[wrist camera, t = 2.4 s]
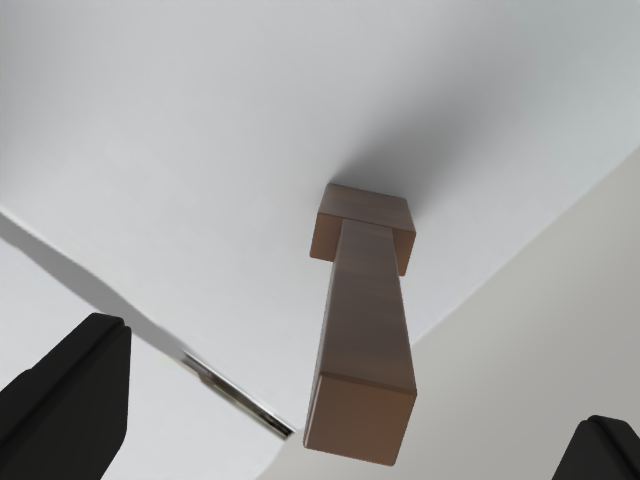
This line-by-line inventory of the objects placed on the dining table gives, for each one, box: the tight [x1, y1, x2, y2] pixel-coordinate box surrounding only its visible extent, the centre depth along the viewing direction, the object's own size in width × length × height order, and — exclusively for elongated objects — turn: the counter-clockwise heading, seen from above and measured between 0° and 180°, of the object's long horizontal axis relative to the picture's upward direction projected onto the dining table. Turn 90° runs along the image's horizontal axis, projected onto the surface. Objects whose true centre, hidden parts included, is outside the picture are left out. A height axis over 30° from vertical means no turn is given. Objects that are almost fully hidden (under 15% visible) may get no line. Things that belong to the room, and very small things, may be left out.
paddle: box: [303, 183, 417, 466], centre depth 17 cm, size 4×2×15 cm, turn 79°
